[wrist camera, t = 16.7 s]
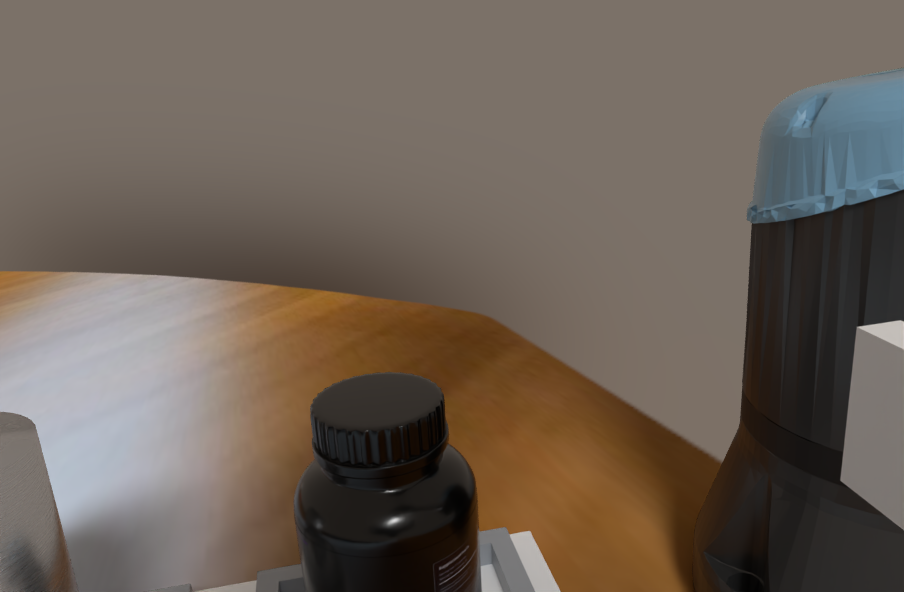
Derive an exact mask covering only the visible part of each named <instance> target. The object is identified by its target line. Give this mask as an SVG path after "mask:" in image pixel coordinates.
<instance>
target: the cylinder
mask: <svg viewBox="0 0 904 592" xmlns="http://www.w3.org/2000/svg"><path fill="white" fill-rule="evenodd" d="M0 592H79V590H78V586H77V582H76V579H75V575H74V571H73V567H72V563H71V559H70V556H69V552H68V548H67V544H66V540H65V537H64V533H63V529H62V525H61V521H60V518H59V514H58V510H57V506H56V502H55V499H54V495H53V491H52V487H51V483H50V480H49V476H48V472H47V468H46V464H45V461H44V457H43V453H42V449H41V445H40V441H39V438H38V434H37V430H36V427H35V424H34V423H33V422H32V421H31V420H30V419H28V418H27V417H24V416H22V415H18V414H14V413H7V412H0Z"/></svg>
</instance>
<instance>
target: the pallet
mask: <svg viewBox="0 0 904 592" xmlns="http://www.w3.org/2000/svg"><path fill="white" fill-rule="evenodd" d="M479 541H480V562H481V583H482V592H560V590H559V588H558V586H557V584H556V582H555V580H554V578H553V576H552V574H551V572H550V570H549V568H548V566H547V564H546V562H545V560H544V558H543V556H542V554H541V552H540V550H539V548H538V546H537V544H536V542H535V540H534V538H533V536H532V534H531V532H530V531H526V532H521V533H515V534H510V535H509V533H508V531H507V529H506V527H504V528H498V529H493V530H487V531H482V532H479ZM146 592H192V587H191V584H185V585H179V586H174V587H168V588H163V589H157V590H151V591H146ZM194 592H305V589H304V582H303V574H302V567H301V564H297V565H291V566H286V567H280V568H275V569H269V570H263V571H258V572H257V580H255V581H249V582H244V583H238V584H233V585H227V586H222V587H216V588H211V589H205V590H200V591H194Z"/></svg>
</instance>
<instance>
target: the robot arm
mask: <svg viewBox="0 0 904 592" xmlns="http://www.w3.org/2000/svg"><path fill="white" fill-rule="evenodd" d="M747 220H748V221H750V222H751V223H752V230H751V249H750V250H751V251H750V267H749V285H748V287H749V288H748V303H747V322H746V338H745V353H744V365H743V379H742V383H743V386H742V402H741V416H740V424H739V428H738V430H737V433H736V435H735V437H734V439H733V441H732V444H731V446H730V448H729V450H728V452H727V454H726V456H725V459H724V461H723V463H722V465H721V467H720V469H719V472H718V474H717V476H716V478H715V480H714V482H713V485H712V487H711V489H710V491H709V493H708V495H707V498H706V500H705V502H704V504H703V506H702V508H701V511H700V513H699V515H698V518H697V522H696V526H695V531H694V544H693V568H692V576H693V584H694V589H695V592H904V68H900V69H894V70H889V71H883V72H878V73H873V74H867V75H862V76H857V77H852V78H847V79H842V80H837V81H833V82H828V83H823V84H819V85H815V86H812V87H808V88H805V89H803V90H800V91H798V92H796V93H794V94H792V95H790V96H788V97H787V98H786V99H784V100H783V101H782V102H780V104H778V105H777V106H776V107H775V108H774V109H773V111H772V112H771V113H770V114H769V116H768V118H767V119H766V121H765V123H764V126H763V128H762V133H761V137H760V145H759V153H758V160H757V169H756V177H755V185H754V193H753V201H752V202H751V203H750V204H749V206H748V208H747Z"/></svg>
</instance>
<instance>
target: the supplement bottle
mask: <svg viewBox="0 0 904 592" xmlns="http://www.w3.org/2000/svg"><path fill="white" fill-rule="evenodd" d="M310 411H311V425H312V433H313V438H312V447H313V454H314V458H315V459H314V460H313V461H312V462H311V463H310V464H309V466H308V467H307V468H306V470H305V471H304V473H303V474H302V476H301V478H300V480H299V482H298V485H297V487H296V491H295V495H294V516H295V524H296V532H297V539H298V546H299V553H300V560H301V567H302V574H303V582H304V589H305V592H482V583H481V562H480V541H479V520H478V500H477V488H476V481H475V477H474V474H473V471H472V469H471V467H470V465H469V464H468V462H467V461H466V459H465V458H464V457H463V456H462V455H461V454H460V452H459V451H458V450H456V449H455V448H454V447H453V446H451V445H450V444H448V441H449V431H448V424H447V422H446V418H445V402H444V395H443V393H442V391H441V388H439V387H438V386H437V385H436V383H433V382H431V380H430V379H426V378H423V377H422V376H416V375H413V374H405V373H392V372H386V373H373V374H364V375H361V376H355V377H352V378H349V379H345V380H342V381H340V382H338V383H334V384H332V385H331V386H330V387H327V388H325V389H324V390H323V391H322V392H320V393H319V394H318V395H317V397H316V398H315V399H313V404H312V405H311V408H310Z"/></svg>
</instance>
